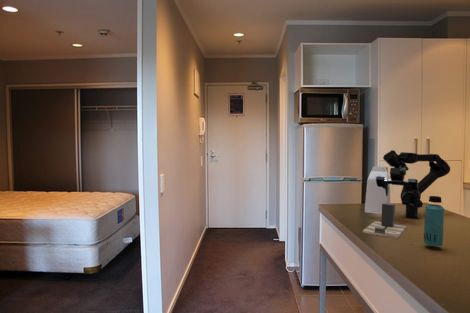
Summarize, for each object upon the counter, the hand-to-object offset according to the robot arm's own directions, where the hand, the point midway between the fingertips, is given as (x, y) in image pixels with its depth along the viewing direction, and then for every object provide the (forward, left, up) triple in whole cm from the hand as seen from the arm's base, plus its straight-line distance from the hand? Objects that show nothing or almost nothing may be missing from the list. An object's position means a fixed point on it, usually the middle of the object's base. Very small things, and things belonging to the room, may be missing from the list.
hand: (393, 196), depth 159 cm
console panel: (+15, -3, -13) cm, 21 cm away
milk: (-25, -8, -14) cm, 30 cm away
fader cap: (+11, -2, -12) cm, 16 cm away
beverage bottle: (+33, +15, -14) cm, 38 cm away
